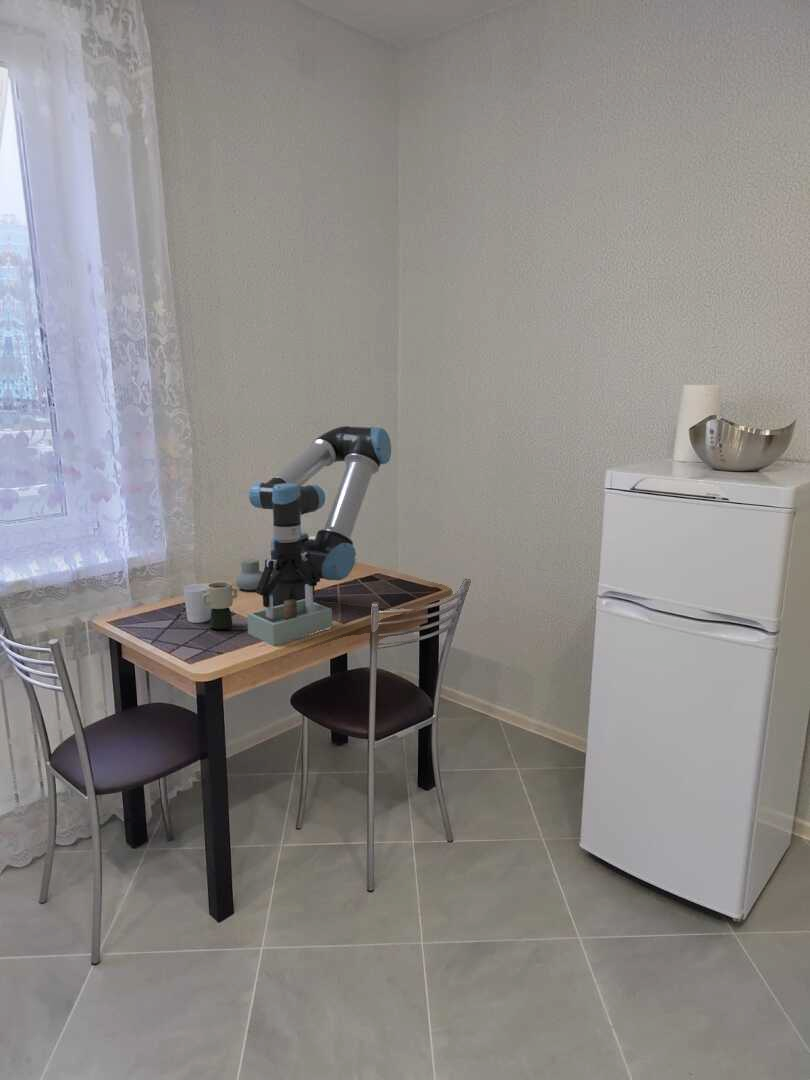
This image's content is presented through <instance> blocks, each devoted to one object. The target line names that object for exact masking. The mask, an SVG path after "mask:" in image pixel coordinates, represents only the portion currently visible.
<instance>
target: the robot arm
mask: <svg viewBox="0 0 810 1080" xmlns="http://www.w3.org/2000/svg"><path fill="white" fill-rule="evenodd" d="M389 435H390V434H389V433H388V432H387V431H386V430H385V429H384V428H383V427H382V428H381V427H374V426H371V427H367V426H363V427H362V426H347V425H346V426H338V427H336V428H332V429H331V430H328V431H327V432H325V433H322V434H321V435H320V436H318V437H317V438H316V439H314V440H313V441H312V442H311V444H309V448H308V449H307V450H306V451H303V453H301V454H300V455H299V456H298V457H297V458H296V459H294V460H293V461H292V462H291V463H289V464H288V465H287V466H286V467H285V468H283V469H282V470H281V471H279V472H278V473H277V474H276V475H274V476H273V477H272V478H271V479H270V480H268V481H267V482H256V483H253V484H252V485H251V487H250V489H249V492H248V499H249V503H250V504H251V505H252V506H253V507H254V508H257V509H263V510H271V511H272V516H273V538H272V539H271V544H270V556H271V558H270V559H269V558H268V559H265V561H264V569H263V571H262V572H263V573H262V576H261V579H260V582H259V584H258V587H257V590H255V593H256V594H257V595H259V596H262V606H263V607H264V609H266V617H268V618H270V619H273V618H274V617H273V607H275V606H279V605H283V604H284V601H285V600H290V599H293V600H296V601H299V600H303V599H305V605H306V607H309V608H313V602H315V603H316V596H315V595H316V594H315V593H316V592H315V587H317V585H318V583H320V582H321V580H322V579H323V580H326V581H342V580H344V579H346V578H347V577H348V576H349V575H350V574H351V572H352V571H353V569H354V567H355V563H356V557H357V553H356V548H355V547H354V542H353V539H352V538H351V535H352V534H353V530H354V527H355V525H356V521H357V518H358V516H359V513H360V510H361V507H362V505H363V501H364V499H365V496H366V493H367V490H368V488H369V484H370V482H371V478H372V475H374V474H377V473H378V472H379V469H380V466H381V465H386V464H388V462H390V460H391V455H392V444H391V439H390V436H389ZM337 462H344V463H345V465H346V467H345V470H344V473H343V476H342V479H341V480H340V484H339V486H338V489H337V492H336V495H335V498H334V499H333V503H332V506H331V508H330V512H329V514H328V517H327V520H326V523H325V525H324V527H323V528H321V529H319V530H317V533H316V536H315V538H314V539H312V538H311V539H310V536H309V534H308V533H307V532H305V531H302V527H301V525H302V524H301V523H302V522H301V516H302V515H305V514H309V513H314V512H316V511H318V510H320V509H322V508H323V507H324V505H325V503H326V495H325V494H326V493H325V492H324V490H323V489H322V487H320V486H319V485H316V484H312V485H311V484H308V485H305V484H306V483H307V482H308V481H309V480H311V479H312V478H313V477H314V476H315V475H316V474H317V473H319V472H320V471H321V470H322V469H324V467H329V466H331V465H333V464H334V463H337Z"/></svg>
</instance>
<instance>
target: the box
mask: <svg viewBox="0 0 810 1080" xmlns="http://www.w3.org/2000/svg"><path fill="white" fill-rule="evenodd" d="M246 616H247V619H246V620H247V634H248V635H250V636H252V637H254V638H256V639H259V640H260V641H262V642H265V643H266V644H268V645H270V646H272V647H274V646H275V645H276V646H279V645H282V644H286V643H288V642H292V641H295V639H296V640H299V639H302V638H304V637H303V636H306V635H309V634H312V633H315V632H317V631H320V630H324V629H326V628H329V627H332V628H333V610H332V608H330V607H327V606H325V605H322V604H319V603H317V602H316V601H315V602H313V608H309V607H306V605H305V599H303V600H299V601H297V617H295V618H292V619H288V620H285V615H284V604H283V605H279V606H275V607H273V617H274V618H273V619H270V618H268V617H266V608H263V609H259V610H256V611H252V612H247V613H246ZM309 636H310V635H309ZM301 637H302V638H301ZM306 637H307V636H306ZM298 638H299V639H298Z"/></svg>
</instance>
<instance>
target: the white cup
mask: <svg viewBox="0 0 810 1080" xmlns="http://www.w3.org/2000/svg"><path fill="white" fill-rule="evenodd" d="M208 584H209V583H193V584H188V585H186V586H184V587H183V595H184V596H183V597H184V603H185V604H184V605H185V611H186V616H187V617H186V618H187V621H188V622H189V623H194V624H195V623H197V624H200V623H205V622H208V621H210V620H211V611H212V608H210V607H209V606H208V604H207V605H203V603H202V595H203V594H206V593H207V585H208ZM206 601H207V597H206Z"/></svg>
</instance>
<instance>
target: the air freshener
mask: <svg viewBox="0 0 810 1080" xmlns="http://www.w3.org/2000/svg"><path fill="white" fill-rule="evenodd" d="M240 563H241V572H239V573H238V574H237V576H236V579H235V584H236V586H237V587H238V588H239V589H241V590H243V591H256V590H257V587H258V584H259V582H260V579H261V576H262V573H263V571H261V570H260V560H259V559H257V558H253V557H251V558H249V557H248V558H244V559H242V560H241V562H240Z"/></svg>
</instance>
